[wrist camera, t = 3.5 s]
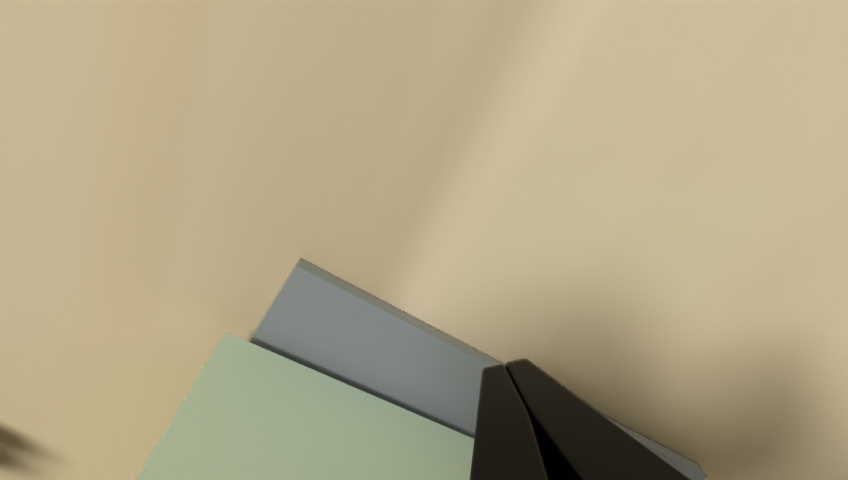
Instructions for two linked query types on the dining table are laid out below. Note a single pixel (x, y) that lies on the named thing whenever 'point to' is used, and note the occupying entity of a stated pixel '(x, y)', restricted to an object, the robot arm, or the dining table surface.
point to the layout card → (387, 352)
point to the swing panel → (297, 428)
